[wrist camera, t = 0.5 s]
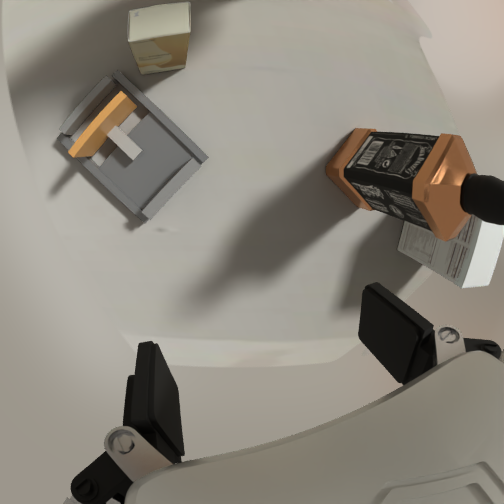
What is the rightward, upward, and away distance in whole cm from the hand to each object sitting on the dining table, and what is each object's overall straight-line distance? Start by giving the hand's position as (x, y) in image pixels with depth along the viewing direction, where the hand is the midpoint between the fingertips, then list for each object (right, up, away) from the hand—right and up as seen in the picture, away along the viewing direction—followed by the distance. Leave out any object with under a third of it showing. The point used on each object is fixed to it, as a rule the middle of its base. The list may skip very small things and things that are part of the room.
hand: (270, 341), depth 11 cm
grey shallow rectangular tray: (-17, +18, +20) cm, 32 cm away
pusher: (-17, +18, +19) cm, 31 cm away
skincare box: (-13, +30, +17) cm, 37 cm away
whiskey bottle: (+17, +18, +29) cm, 38 cm away
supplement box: (+35, +10, +37) cm, 52 cm away
